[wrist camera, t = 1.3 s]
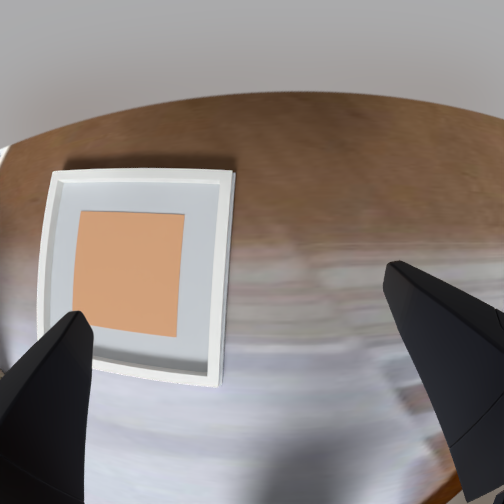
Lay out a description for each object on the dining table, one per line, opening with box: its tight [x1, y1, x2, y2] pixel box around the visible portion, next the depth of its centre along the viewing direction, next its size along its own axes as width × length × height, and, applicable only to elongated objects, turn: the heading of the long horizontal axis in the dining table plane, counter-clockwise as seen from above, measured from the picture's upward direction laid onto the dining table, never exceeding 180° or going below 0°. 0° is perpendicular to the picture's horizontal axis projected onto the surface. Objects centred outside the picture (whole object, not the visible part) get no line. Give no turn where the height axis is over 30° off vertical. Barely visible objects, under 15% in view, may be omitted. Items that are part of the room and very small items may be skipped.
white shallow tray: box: [37, 168, 236, 388], centre depth 22 cm, size 16×16×2 cm
